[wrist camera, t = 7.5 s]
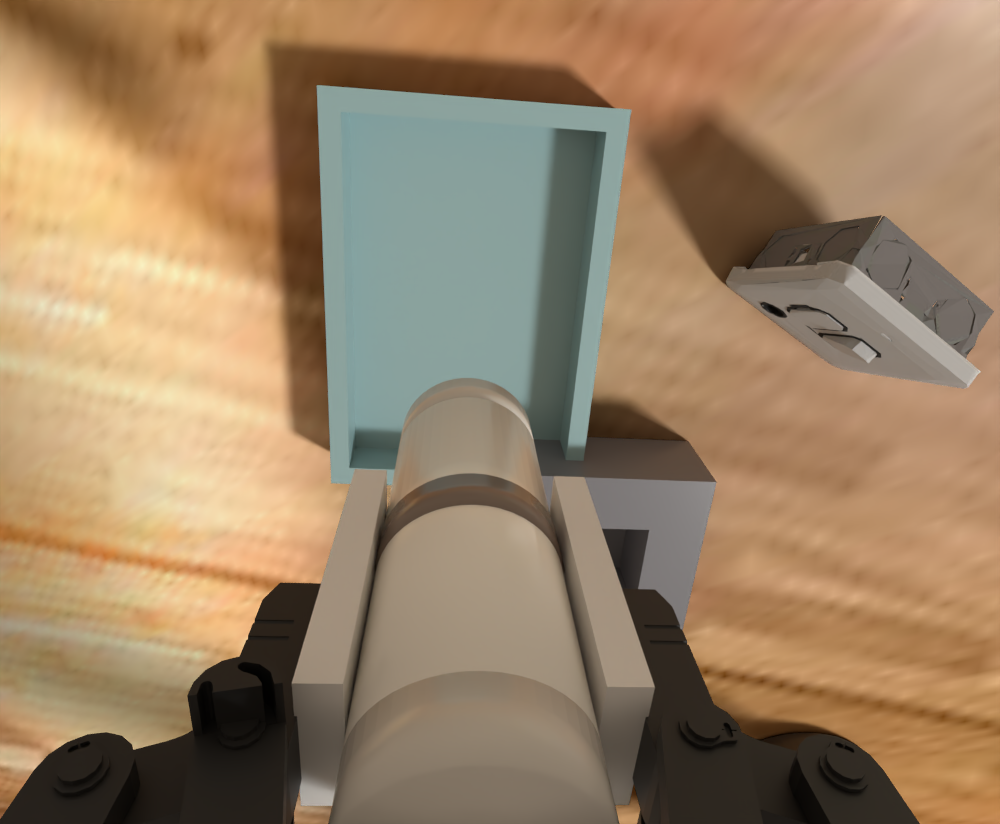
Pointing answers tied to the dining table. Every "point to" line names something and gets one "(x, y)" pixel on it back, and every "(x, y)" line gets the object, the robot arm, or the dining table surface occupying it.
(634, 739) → the robot arm
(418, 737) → the cylinder
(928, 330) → the electrical switch
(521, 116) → the parts tray
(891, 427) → the dining table surface
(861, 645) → the dining table surface
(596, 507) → the fuse holder
